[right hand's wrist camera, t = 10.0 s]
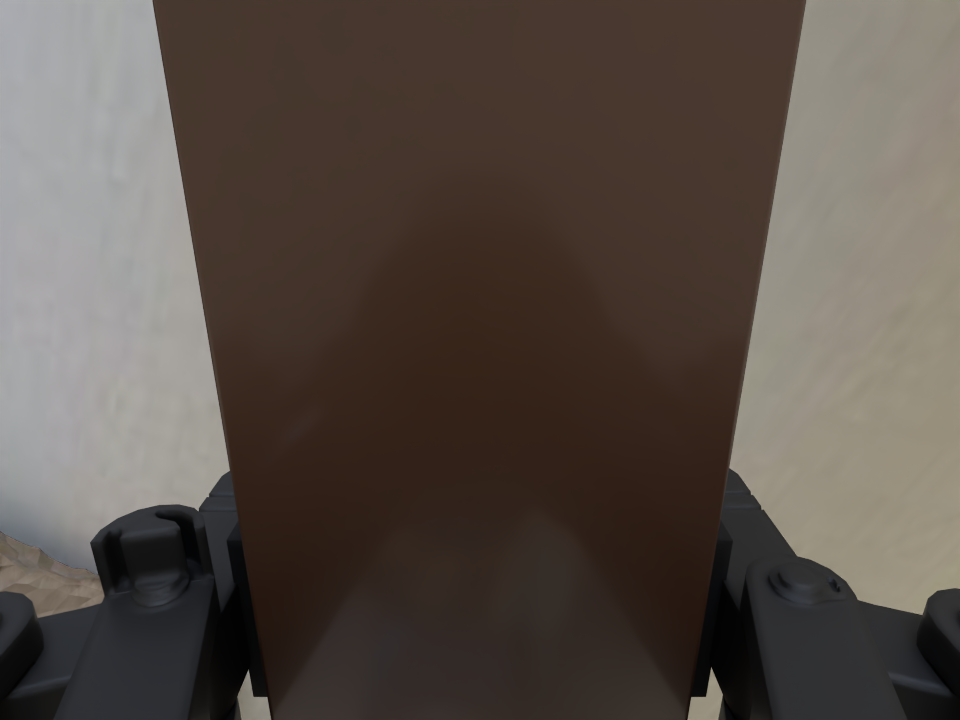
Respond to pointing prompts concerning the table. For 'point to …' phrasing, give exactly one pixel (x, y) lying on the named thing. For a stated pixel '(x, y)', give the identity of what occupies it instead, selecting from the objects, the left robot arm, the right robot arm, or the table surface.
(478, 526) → the walnut beam
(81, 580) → the stone
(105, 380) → the table surface
